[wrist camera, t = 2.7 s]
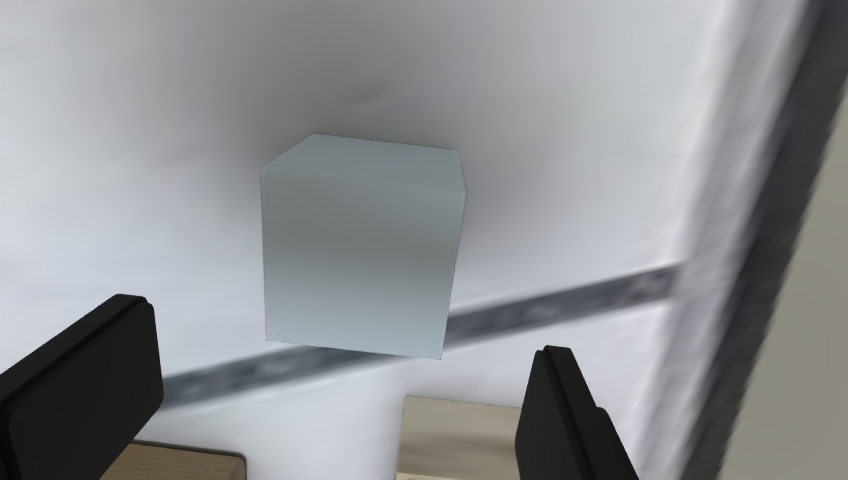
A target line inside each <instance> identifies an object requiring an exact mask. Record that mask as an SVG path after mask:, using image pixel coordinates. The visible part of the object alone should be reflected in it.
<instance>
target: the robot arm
mask: <svg viewBox="0 0 848 480" xmlns="http://www.w3.org/2000/svg"><path fill="white" fill-rule="evenodd" d="M163 395H164V391H163V382H162V374H161V365H160V357H159V348H158V340H157V332H156V323H155V315H154V308H153V306H152V304H150V303H148V301H147V300H146V298H144V297H143V296H135V295H126V294H116V295H114V296H112V297H111V298H109V299H108V300H107V301H105V302H104V303H102V304H101V305H99V306H98V307H97V308H95V309H94V310H92V311H91V312H89V313H88V314H86V315H85V316H84V317H82V318H81V319H79V320H78V321H76V322H75V323H74V324H72V325H71V326H69V327H68V328H66V329H65V330H64V331H62V332H61V333H59V334H58V335H56V336H55V337H53V338H52V339H51V340H49V341H48V342H46V343H45V344H43V345H42V346H41V347H39V348H38V349H36V350H35V351H33V352H32V353H30V354H29V355H28V356H26V357H25V358H23V359H22V360H20V361H19V362H18V363H16V364H15V365H13V366H12V367H10V368H9V369H7V370H6V371H5V372H3V373H2V374H0V480H99V479H100V478H101V477H102V476H103V475H104V473H105V472H106V471H107V470H108V469H109V467H110V466H111V465H112V464H113V463H114V461H115V460H116V459H117V458H118V457H119V455H120V454H121V453H122V452H123V451H124V449H125V448H126V447H127V446H128V445H129V443H130V442H131V441H132V440H133V439H134V437H135V436H136V435H137V434H138V433H139V431H140V430H141V429H142V428H143V427H144V425H145V424H146V423H147V422H148V421H149V419H150V418H151V417H152V416H153V415H154V413H155V412H156V411H157V410H158V408H159V407H160V405H161V403H162V400H163ZM515 453H516V459H517V464H518V470H519V475H520V480H639V478H638V476H637V474H636V472H635V470H634V468H633V466H632V464H631V461H630V459H629V457H628V455H627V453H626V451H625V449H624V447H623V444H622V442H621V440H620V438H619V436H618V434H617V432H616V430H615V427H614V425H613V423H612V421H611V419H610V417H609V415H608V413H607V412H606V410H605V409H603V408H601V407H597V406H596V404H595V402H594V400H593V397H592V395H591V393H590V391H589V388H588V386H587V384H586V382H585V380H584V377H583V375H582V373H581V371H580V368H579V366H578V364H577V362H576V359H575V357H574V355H573V353H572V351H571V349H570V348H566V347H558V346H550V345H546V346H545V347H544V349H543V351H541V350H537V351H536V353H535V356H534V360H533V364H532V368H531V373H530V377H529V381H528V385H527V389H526V393H525V398H524V402H523V406H522V410H521V414H520V418H519V422H518V427H517V431H516V435H515Z"/></svg>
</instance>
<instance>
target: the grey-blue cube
mask: <svg viewBox="0 0 848 480" xmlns="http://www.w3.org/2000/svg"><path fill="white" fill-rule="evenodd" d="M260 172H261V204H262V235H263V266H264V298H265V329H266V341H274V342H283V343H292V344H302V345H311V346H320V347H329V348H338V349H347V350H356V351H365V352H374V353H383V354H393V355H402V356H411V357H420V358H429V359H438V360H441V356H442V349H443V343H444V336H445V330H446V323H447V317H448V310H449V304H450V297H451V291H452V284H453V277H454V271H455V264H456V258H457V251H458V245H459V238H460V232H461V225H462V219H463V212H464V206H465V199H466V193H467V192H466V187H465V182H464V176H463V171H462V166H461V161H460V155H459V150H452V149H444V148H435V147H427V146H418V145H409V144H401V143H392V142H384V141H375V140H367V139H358V138H350V137H341V136H333V135H324V134H315V133H313V134H311V135H310V136H308V137H307V138H305V139H304V140H302V141H301V142H299V143H298V144H296V145H295V146H293V147H292V148H290V149H289V150H287V151H286V152H284V153H283V154H281V155H280V156H278V157H277V158H275V159H274V160H272V161H271V162H269V163H268V164H266V165H265V166H263V167H262V168H260Z"/></svg>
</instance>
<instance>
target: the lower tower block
mask: <svg viewBox="0 0 848 480" xmlns="http://www.w3.org/2000/svg"><path fill="white" fill-rule="evenodd" d="M521 410H522V408H513V407H504V406H495V405H486V404H477V403H468V402H459V401H450V400H441V399H432V398H423V397H414V396H405V400H404V409H403V417H402V425H401V433H400V441H399V449H398V457H397V466H396V474H395V480H407V479H409V480H520V475H519V470H518V464H517V459H516V453H515V435H516V431H517V427H518V422H519V418H520V414H521Z"/></svg>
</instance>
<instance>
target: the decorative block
mask: <svg viewBox="0 0 848 480" xmlns="http://www.w3.org/2000/svg"><path fill="white" fill-rule="evenodd" d="M99 480H245V463H244V461H243V460H242V458H241V457H234V456H226V455H218V454H210V453H202V452H194V451H186V450H178V449H170V448H162V447H154V446H146V445H139V444H131V443H129V445H128V446H127V447H126V448H125V449H124V451H123V452H122V453H121V454H120V455H119V457H118V458H117V459H116V460H115V461H114V463H113V464H112V465H111V466H110V467H109V469H108V470H107V471H106V472H105V473H104V475H103V476H102V477H101V478H100V479H99Z"/></svg>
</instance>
